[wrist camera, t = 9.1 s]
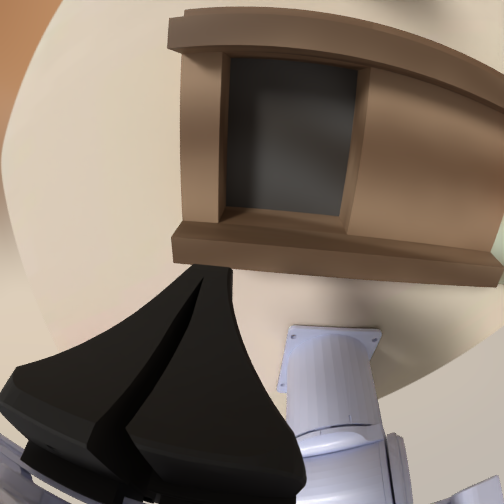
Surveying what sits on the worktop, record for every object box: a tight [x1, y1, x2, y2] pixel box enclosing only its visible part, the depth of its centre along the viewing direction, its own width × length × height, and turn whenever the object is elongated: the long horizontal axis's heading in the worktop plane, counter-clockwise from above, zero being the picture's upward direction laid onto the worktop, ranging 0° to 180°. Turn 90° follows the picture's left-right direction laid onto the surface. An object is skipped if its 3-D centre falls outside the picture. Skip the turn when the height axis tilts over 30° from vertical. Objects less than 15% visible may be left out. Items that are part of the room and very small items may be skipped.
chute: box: [167, 7, 504, 287], centre depth 13 cm, size 14×28×5 cm, turn 87°
